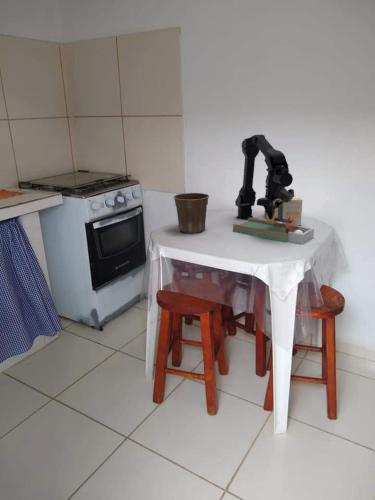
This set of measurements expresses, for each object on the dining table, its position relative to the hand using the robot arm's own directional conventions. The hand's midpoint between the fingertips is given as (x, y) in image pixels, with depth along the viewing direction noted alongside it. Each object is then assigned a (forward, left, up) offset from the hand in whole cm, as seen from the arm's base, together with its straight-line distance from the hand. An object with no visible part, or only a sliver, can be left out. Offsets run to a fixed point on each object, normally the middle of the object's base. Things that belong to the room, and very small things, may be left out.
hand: (272, 218), depth 174 cm
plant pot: (-33, -16, -7) cm, 37 cm away
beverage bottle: (-13, +26, -7) cm, 30 cm away
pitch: (0, 0, -7) cm, 7 cm away
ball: (+13, 0, -5) cm, 14 cm away
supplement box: (+1, +17, -7) cm, 19 cm away
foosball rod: (+4, 0, -5) cm, 6 cm away
